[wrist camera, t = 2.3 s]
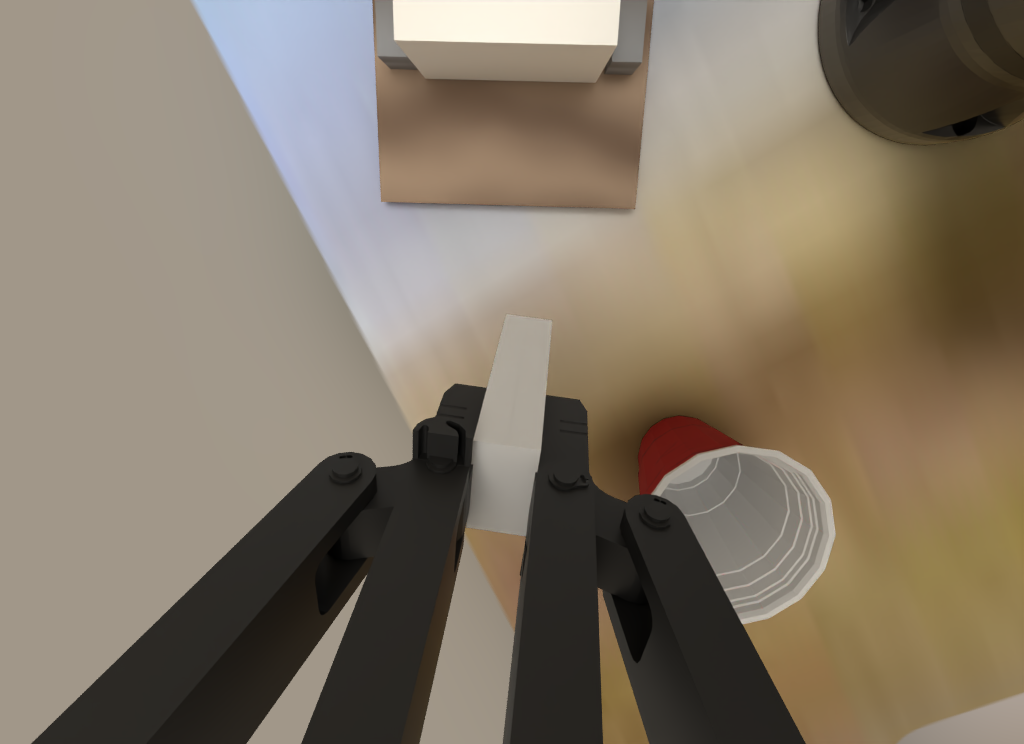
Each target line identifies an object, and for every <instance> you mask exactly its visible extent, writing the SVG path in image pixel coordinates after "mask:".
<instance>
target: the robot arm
mask: <svg viewBox="0 0 1024 744" xmlns="http://www.w3.org/2000/svg"><path fill="white" fill-rule="evenodd" d="M819 46H820V53H821V59H822V63H823V67H824V71H825V74H826V77H827V79H828V82H829V84H830V86H831V89H832V90H833V92H834V94H835V96H836V98H837V99H838V101H839V102H840V104H841V105H842V106H843V108H844V109H845V110H846V111H847V112H848V113H849V114H850V115H851V117H852V118H853V119H855V120H856V121H857V122H858V123H859V124H861V125H862V126H863V127H865V128H866V129H868V130H869V131H871V132H873V133H875V134H877V135H879V136H881V137H883V138H886V139H889V140H892V141H896V142H900V143H905V144H914V145H932V144H941V143H948V142H955V141H962V140H968V139H973V138H977V137H981V136H984V135H987V134H990V133H993V132H996V131H999V130H1001V129H1004V128H1006V127H1008V126H1011V125H1013V124H1015V123H1017V122H1019V121H1021V120H1022V119H1024V0H821V5H820V13H819ZM551 331H552V320H547V319H540V318H533V317H525V316H518V315H511V314H506V317H505V320H504V324H503V328H502V332H501V336H500V340H499V343H498V347H497V351H496V355H495V359H494V363H493V366H492V370H491V374H490V378H489V382H488V386H487V388H483V387H476V386H469V385H462V384H454V385H453V386H452V387H451V388H450V389H448V390H447V391H446V392H445V393H444V395H443V398H442V401H441V403H440V406H439V409H438V411H437V415H436V416H435V417H433V418H428V419H425V420H424V421H422V422H420V423H418V424H417V425H416V427H415V428H414V429H413V459H412V460H411V461H409V462H407V463H404V464H401V465H396V466H390V467H378V468H376V465H375V463H374V462H373V461H372V459H371V458H369V457H367V456H365V455H363V454H360V453H354V452H346V453H338V454H336V455H332V456H329V457H328V458H326V459H325V460H323V461H322V462H320V463H319V464H318V465H317V466H316V467H315V468H314V469H313V470H312V471H311V472H310V473H309V474H308V475H307V476H306V477H305V478H304V479H303V480H302V481H301V482H300V483H299V484H298V485H297V486H296V487H295V488H293V489H292V490H291V491H290V492H289V493H288V494H287V495H286V496H285V497H284V498H283V499H282V500H281V501H280V502H279V503H278V504H277V505H276V506H275V507H274V508H273V509H272V510H271V511H270V512H269V513H268V514H267V515H266V516H265V517H264V518H263V519H262V520H261V521H260V522H259V523H258V524H257V525H256V526H255V527H253V528H252V529H251V530H250V531H249V532H248V534H246V535H245V536H244V537H243V538H242V539H241V540H240V541H239V542H238V543H237V544H236V545H235V546H234V547H233V548H232V549H231V550H230V551H229V552H228V553H227V554H226V555H225V556H224V557H223V558H222V559H221V560H219V562H217V563H216V564H215V565H214V566H213V567H212V568H211V569H210V570H209V571H208V572H207V573H206V574H205V575H204V576H203V577H202V578H201V579H200V580H199V581H198V582H197V583H196V584H195V585H194V586H193V587H192V588H191V589H190V590H189V591H188V592H187V593H186V594H185V595H184V596H183V597H181V598H180V599H179V600H178V601H177V602H176V603H175V604H174V605H173V606H172V607H171V608H170V609H169V610H168V611H167V612H166V613H165V614H164V615H163V616H162V617H161V618H160V619H159V620H158V621H157V622H156V623H155V624H154V625H153V626H152V627H151V628H150V629H149V630H148V631H147V632H146V633H144V635H143V636H141V637H140V638H139V639H138V640H137V641H136V642H135V643H134V644H133V645H132V646H131V647H130V648H129V649H128V650H127V651H126V652H125V653H124V654H123V655H122V656H121V657H120V658H119V659H118V660H117V661H116V662H115V663H114V664H113V665H112V666H111V667H110V668H109V669H107V670H106V671H105V672H104V673H103V674H102V675H101V676H100V677H99V678H98V679H97V680H96V681H95V682H94V683H93V684H92V685H91V686H90V687H89V688H88V689H87V690H86V691H85V692H84V693H83V694H82V695H81V696H80V697H79V698H78V699H77V700H76V701H75V702H74V703H73V704H72V705H70V707H68V708H67V709H66V710H65V711H64V712H63V713H62V714H61V716H59V717H58V718H57V719H56V720H55V721H54V722H53V723H52V724H51V725H50V726H49V727H48V728H47V729H46V730H45V731H44V732H43V733H42V734H41V735H40V736H39V737H38V738H37V739H36V740H35V741H34V742H33V743H32V744H246V743H247V742H248V741H249V739H250V738H251V736H252V735H253V734H254V732H255V731H256V729H257V728H258V726H259V725H260V724H261V722H262V721H263V719H264V718H265V717H266V715H267V714H268V712H269V711H270V709H271V708H272V707H273V705H274V704H275V703H276V701H277V700H278V698H279V697H280V696H281V694H282V693H283V691H284V690H285V689H286V687H287V686H288V684H289V683H290V681H291V680H292V679H293V677H294V676H295V674H296V673H297V672H298V670H299V669H300V668H301V666H302V665H303V663H304V662H305V661H306V659H307V658H308V656H309V655H310V653H311V652H312V651H313V649H314V648H315V646H316V645H317V644H318V642H319V641H320V639H321V638H322V637H323V635H324V634H325V632H326V631H327V630H328V628H329V627H330V625H331V624H332V623H333V621H334V620H335V618H336V617H337V616H338V614H339V613H340V611H341V610H342V609H343V607H344V606H345V604H346V603H347V602H348V600H349V599H350V597H351V596H352V595H353V593H354V592H355V590H356V589H357V587H358V586H359V585H360V583H361V582H362V580H363V579H364V578H365V576H366V575H367V577H366V580H365V582H364V585H363V587H362V590H361V592H360V595H359V597H358V600H357V602H356V605H355V608H354V610H353V613H352V616H351V618H350V621H349V623H348V625H347V628H346V631H345V633H344V636H343V638H342V641H341V643H340V646H339V649H338V651H337V654H336V656H335V659H334V661H333V664H332V666H331V669H330V672H329V674H328V677H327V679H326V682H325V685H324V687H323V690H322V692H321V695H320V697H319V700H318V702H317V705H316V708H315V710H314V712H313V715H312V718H311V720H310V723H309V725H308V728H307V731H306V733H305V736H304V738H303V741H302V743H301V744H419V742H420V738H421V733H422V729H423V724H424V720H425V715H426V711H427V706H428V702H429V697H430V693H431V688H432V684H433V679H434V675H435V670H436V666H437V661H438V656H439V653H440V648H441V644H442V639H443V635H444V630H445V626H446V621H447V617H448V612H449V608H450V603H451V598H452V594H453V590H454V585H455V581H456V576H457V572H458V567H459V563H460V558H461V554H462V549H463V542H464V531H465V526H466V527H467V528H473V529H480V530H487V531H493V532H500V533H506V534H513V535H520V536H526V541H525V547H524V553H523V559H522V565H521V571H520V576H521V580H520V589H519V598H518V608H517V617H516V626H515V635H514V645H513V654H512V663H511V672H510V682H509V691H508V701H507V709H506V718H505V728H504V737H503V744H603V732H602V703H601V674H600V646H599V617H598V588H600V589H602V590H603V597H604V600H605V603H606V606H607V610H608V613H609V616H610V619H611V622H612V626H613V629H614V632H615V635H616V638H617V642H618V645H619V648H620V651H621V654H622V658H623V661H624V664H625V667H626V670H627V674H628V677H629V680H630V683H631V686H632V689H633V693H634V696H635V699H636V702H637V705H638V709H639V712H640V715H641V718H642V721H643V725H644V728H645V731H646V734H647V737H648V741H649V744H806V743H805V742H804V740H803V738H802V736H801V734H800V732H799V730H798V728H797V726H796V725H795V723H794V721H793V719H792V717H791V715H790V713H789V711H788V709H787V708H786V706H785V704H784V702H783V700H782V698H781V696H780V694H779V693H778V691H777V689H776V687H775V685H774V683H773V681H772V679H771V677H770V676H769V674H768V672H767V670H766V668H765V666H764V664H763V662H762V660H761V659H760V657H759V655H758V653H757V651H756V649H755V647H754V645H753V644H752V642H751V640H750V638H749V636H748V634H747V632H746V630H745V628H744V627H743V625H742V623H741V621H740V619H739V617H738V615H737V613H736V611H735V610H734V608H733V606H732V604H731V602H730V600H729V598H728V596H727V595H726V593H725V591H724V589H723V587H722V585H721V583H720V581H719V579H718V578H717V576H716V574H715V572H714V570H713V568H712V566H711V564H710V562H709V561H708V559H707V557H706V555H705V553H704V551H703V549H702V547H701V546H700V544H699V542H698V540H697V538H696V536H695V534H694V532H693V530H692V529H691V527H690V525H689V523H688V521H687V519H686V517H685V515H684V514H683V513H682V511H681V510H680V509H679V508H678V506H676V505H675V504H673V503H672V502H671V501H669V500H668V499H665V498H662V497H660V496H657V495H651V494H642V495H637V496H634V497H633V498H631V499H630V500H628V502H627V503H626V502H624V501H621V500H619V499H616V498H614V497H612V496H610V495H608V494H606V493H604V492H603V491H602V490H600V489H599V488H598V487H597V486H596V485H595V484H594V483H593V480H592V477H591V476H590V474H589V457H588V426H587V424H588V421H587V410H586V409H585V407H584V406H583V404H582V403H581V401H580V400H577V399H570V398H563V397H556V396H549V395H546V387H547V376H548V365H549V353H550V342H551ZM466 522H467V523H466ZM367 573H368V574H367ZM597 587H598V588H597Z"/></svg>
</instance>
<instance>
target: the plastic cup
mask: <svg viewBox="0 0 1024 744" xmlns="http://www.w3.org/2000/svg"><path fill="white" fill-rule="evenodd" d="M638 462H639V473H638V477H639V489H640V495H642V494H651V495H657V496H660V497H662V498H665V499H668V500H669V501H671V502H672V503H673V504H675V505H676V506H678V508H679V509H680V510H681V511H682V513H683V514H684V515H685V517H686V519H687V521H688V523H689V525H690V527H691V529H692V530H693V532H694V534H695V536H696V538H697V540H698V542H699V544H700V546H701V547H702V549H703V551H704V553H705V555H706V557H707V559H708V561H709V562H710V564H711V566H712V568H713V570H714V572H715V574H716V576H717V578H718V579H719V581H720V583H721V585H722V587H723V589H724V591H725V593H726V595H727V596H728V598H729V600H730V602H731V604H732V606H733V608H734V610H735V611H736V613H737V615H738V617H739V619H740V621H741V623H742V624H746V623H750V622H755V621H759V620H764V619H769V618H770V617H772V616H774V615H775V614H777V613H778V612H780V611H782V610H783V609H785V608H787V607H788V606H790V605H792V604H793V603H795V602H797V601H798V600H800V599H802V597H803V596H804V595H805V594H806V592H807V591H808V590H809V589H810V587H811V586H812V585H813V584H814V582H815V581H816V580H817V579H818V578H819V576H820V575H821V574H822V573H823V571H824V570H825V568H826V565H827V561H828V558H829V555H830V552H831V548H832V545H833V542H834V539H835V535H836V534H835V526H834V519H833V511H832V504H831V499H830V498H829V496H828V495H827V493H826V492H825V490H824V489H823V487H822V486H821V484H820V483H819V481H818V480H817V478H816V477H815V475H814V474H813V472H812V471H811V470H810V469H808V468H806V467H805V466H803V465H801V464H800V463H798V462H796V461H795V460H793V459H791V458H790V457H788V456H786V455H785V454H783V453H782V452H780V451H776V450H769V449H762V448H755V447H748V446H743V445H742V444H740V443H738V442H737V441H735V440H733V439H732V438H730V437H728V436H727V435H725V434H723V433H722V432H720V431H718V430H716V429H715V428H713V427H711V426H709V425H707V424H706V423H704V422H702V421H701V420H699V419H696V418H692V417H685V416H675V417H670V418H666V419H663V420H661V421H660V422H658V423H657V424H655V425H653V426H652V427H651V428H650V429H649V430H648V432H647V433H646V434H645V436H644V437H643V439H642V442H641V446H640V450H639V454H638Z"/></svg>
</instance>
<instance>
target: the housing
mask: <svg viewBox="0 0 1024 744" xmlns="http://www.w3.org/2000/svg"><path fill="white" fill-rule="evenodd" d="M372 1H373V24H374V47H375V71H376V94H377V117H378V140H379V164H380V187H381V202H409V203H445V204H480V205H516V206H552V207H588V208H624V209H635V204H636V193H637V182H638V171H639V160H640V149H641V138H642V126H643V115H644V104H645V93H646V82H647V71H648V60H649V49H650V38H651V26H652V15H653V4H654V0H621V2H620V15H619V29H618V42H617V47H616V48H615V50H614V52H613V54H612V55H611V57H610V59H609V61H608V62H607V64H606V66H605V67H604V69H603V71H602V73H601V74H600V76H599V78H598V80H597V81H596V83H582V82H540V81H499V80H457V79H425V77H424V76H423V75H422V74H421V73H420V71H419V70H418V69H417V68H416V66H415V65H414V64H413V63H412V62H411V60H410V59H409V58H408V57H407V55H406V54H405V53H404V52H403V51H402V49H401V48H400V47H399V46H398V44H397V43H396V42H395V41H394V23H393V0H372Z"/></svg>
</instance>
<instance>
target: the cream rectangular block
mask: <svg viewBox="0 0 1024 744" xmlns="http://www.w3.org/2000/svg"><path fill="white" fill-rule="evenodd" d="M620 2H621V0H393V23H394V41H395V42H396V43H397V44H398V46H399V47H400V48H401V49H402V51H403V52H404V53H405V54H406V55H407V57H408V58H409V59H410V60H411V62H412V63H413V64H414V65H415V66H416V68H417V69H418V70H419V71H420V73H421V74H422V75H423V76H424V77H425V79H457V80H499V81H540V82H582V83H596V81H597V80H598V78H599V76H600V74H601V73H602V71H603V69H604V67H605V66H606V64H607V62H608V61H609V59H610V57H611V55H612V54H613V52H614V50H615V48H616V47H617V42H618V29H619V15H620Z"/></svg>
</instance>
